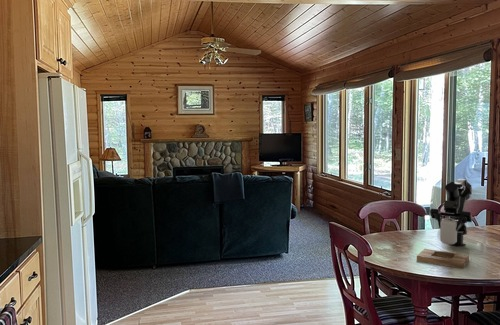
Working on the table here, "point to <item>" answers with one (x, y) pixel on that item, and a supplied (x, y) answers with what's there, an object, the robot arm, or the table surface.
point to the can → (448, 231)
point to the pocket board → (447, 259)
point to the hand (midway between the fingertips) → (448, 229)
